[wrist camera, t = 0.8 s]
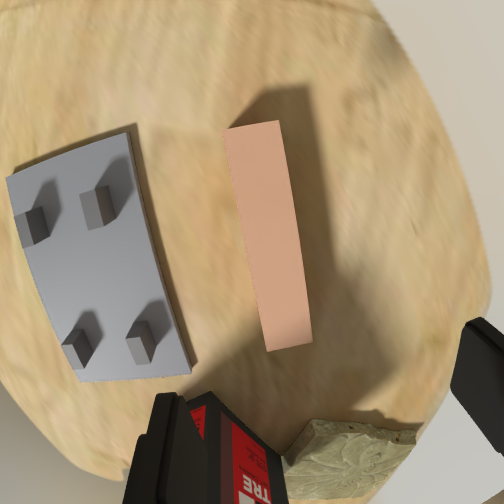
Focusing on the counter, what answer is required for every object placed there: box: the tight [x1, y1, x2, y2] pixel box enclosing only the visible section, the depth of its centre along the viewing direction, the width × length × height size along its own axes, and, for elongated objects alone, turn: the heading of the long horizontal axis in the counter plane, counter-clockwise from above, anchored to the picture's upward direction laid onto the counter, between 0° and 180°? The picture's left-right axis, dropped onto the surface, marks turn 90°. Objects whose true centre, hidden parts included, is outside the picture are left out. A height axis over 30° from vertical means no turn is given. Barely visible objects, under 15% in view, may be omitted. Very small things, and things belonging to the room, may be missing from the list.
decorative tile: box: [281, 419, 416, 500], centre depth 38 cm, size 19×20×4 cm
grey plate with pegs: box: [6, 132, 192, 382], centre depth 26 cm, size 24×14×4 cm, turn 10°
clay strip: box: [222, 120, 313, 352], centre depth 26 cm, size 18×4×5 cm, turn 11°
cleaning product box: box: [186, 391, 289, 504], centre depth 27 cm, size 16×9×20 cm, turn 32°
